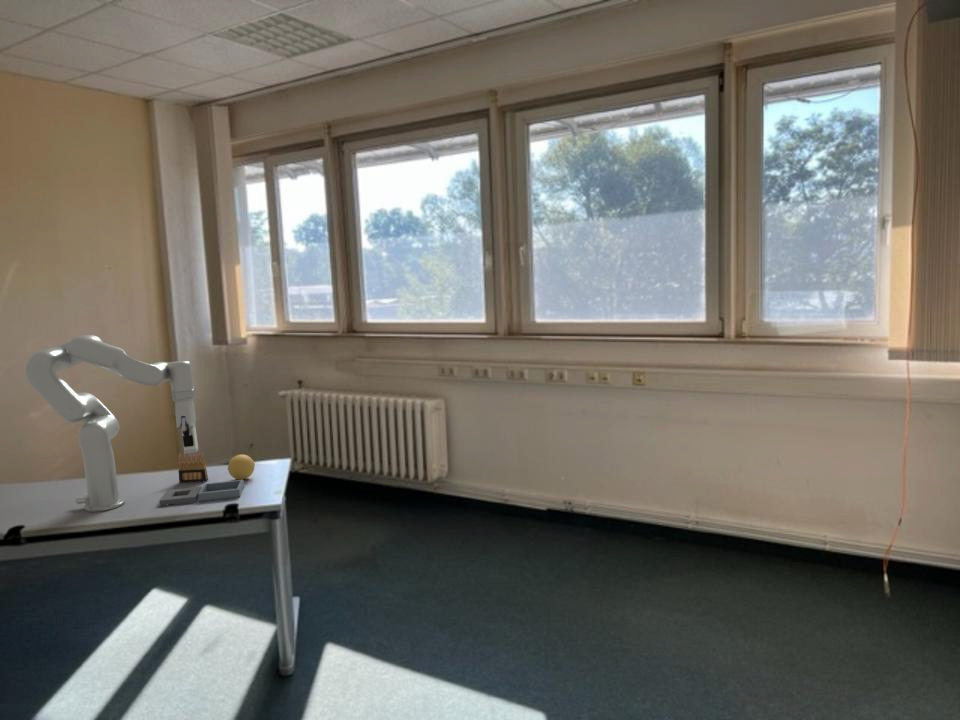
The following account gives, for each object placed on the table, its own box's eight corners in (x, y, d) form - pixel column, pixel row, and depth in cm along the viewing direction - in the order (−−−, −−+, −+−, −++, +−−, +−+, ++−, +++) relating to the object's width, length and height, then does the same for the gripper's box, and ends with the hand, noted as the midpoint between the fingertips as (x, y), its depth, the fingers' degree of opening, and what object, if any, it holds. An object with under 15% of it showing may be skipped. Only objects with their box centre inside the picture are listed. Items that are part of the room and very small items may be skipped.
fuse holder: (159, 506, 231) (159, 500, 231) (168, 495, 243) (167, 490, 243) (195, 502, 234) (195, 496, 234) (202, 491, 246) (201, 486, 245)
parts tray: (198, 501, 234) (198, 493, 234) (205, 491, 246) (204, 483, 245) (240, 497, 237) (239, 489, 237) (244, 487, 249) (243, 479, 248)
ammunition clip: (208, 480, 260) (205, 451, 258) (206, 481, 258) (203, 452, 256) (181, 481, 260) (178, 452, 258) (179, 483, 258) (176, 453, 256)
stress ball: (250, 484, 255) (264, 463, 261) (231, 470, 250) (246, 448, 256) (236, 484, 261) (250, 463, 267) (218, 470, 256) (232, 449, 262)
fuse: (184, 453, 235) (180, 426, 234) (186, 450, 239) (183, 424, 238) (196, 452, 236) (192, 425, 234) (198, 449, 240) (195, 422, 238)
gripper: (178, 392, 242) (184, 440, 244) (166, 400, 226) (173, 451, 228) (199, 390, 243) (205, 438, 246) (189, 398, 227) (196, 449, 230)
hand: (190, 444), depth 237 cm, fingers closed on fuse, 3 cm apart
